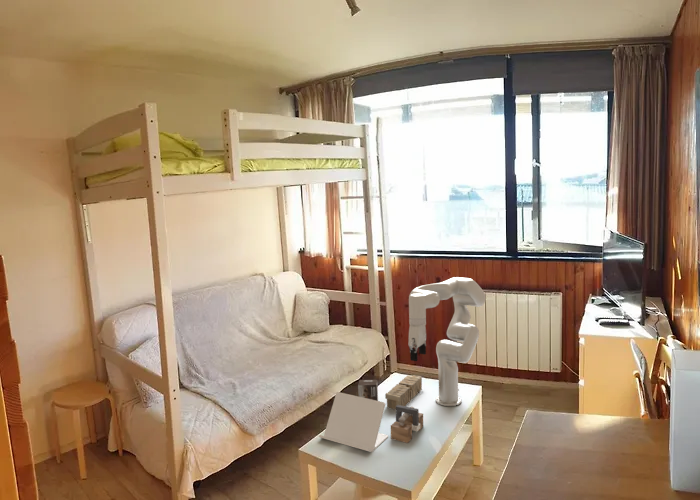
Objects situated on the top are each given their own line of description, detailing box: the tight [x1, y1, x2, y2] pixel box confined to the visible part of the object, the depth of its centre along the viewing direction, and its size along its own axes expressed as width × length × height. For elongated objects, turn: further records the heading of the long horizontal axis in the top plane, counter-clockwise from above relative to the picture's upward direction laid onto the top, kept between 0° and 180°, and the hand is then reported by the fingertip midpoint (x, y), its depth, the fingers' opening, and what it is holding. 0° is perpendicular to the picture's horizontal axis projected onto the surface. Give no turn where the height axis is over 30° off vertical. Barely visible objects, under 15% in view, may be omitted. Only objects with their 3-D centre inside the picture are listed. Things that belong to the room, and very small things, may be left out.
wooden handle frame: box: [390, 406, 424, 444], centre depth 231 cm, size 17×8×10 cm, turn 149°
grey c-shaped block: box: [394, 405, 421, 432], centre depth 231 cm, size 4×11×9 cm, turn 60°
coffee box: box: [357, 379, 379, 401], centre depth 250 cm, size 9×6×16 cm
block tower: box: [384, 374, 423, 411], centre depth 267 cm, size 8×8×29 cm
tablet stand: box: [318, 391, 389, 453], centre depth 227 cm, size 18×25×17 cm
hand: (418, 357), depth 239 cm, fingers open, 9 cm apart
